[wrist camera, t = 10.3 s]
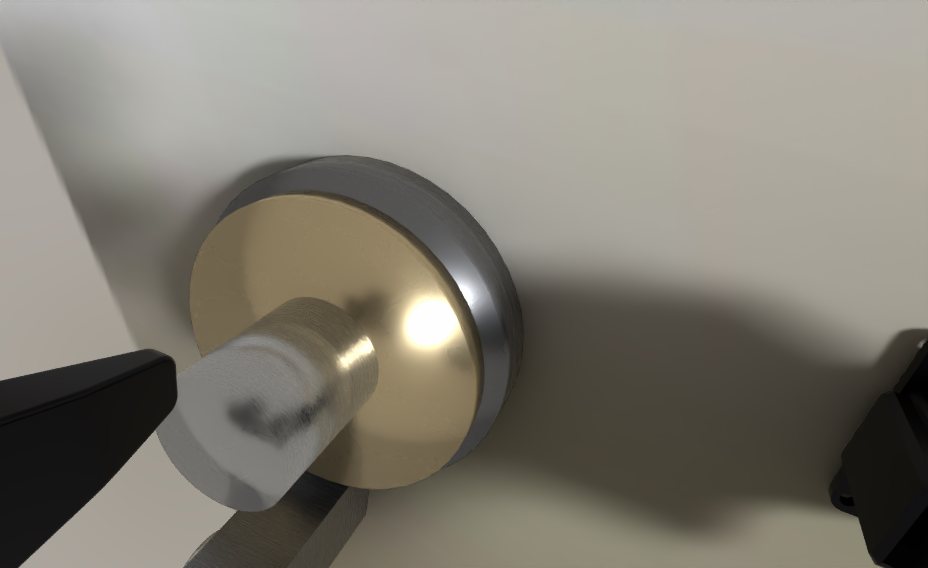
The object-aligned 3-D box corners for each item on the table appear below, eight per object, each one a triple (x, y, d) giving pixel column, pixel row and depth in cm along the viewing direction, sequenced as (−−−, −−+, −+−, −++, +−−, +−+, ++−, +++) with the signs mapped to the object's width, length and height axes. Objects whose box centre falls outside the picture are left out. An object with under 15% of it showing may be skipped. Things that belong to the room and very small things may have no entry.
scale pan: (518, 252, 17) (508, 265, 16) (453, 514, 22) (443, 534, 22) (204, 149, 20) (181, 156, 19) (213, 405, 25) (195, 419, 24)
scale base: (561, 214, 19) (456, 355, 11) (465, 561, 27) (367, 780, 19) (239, 116, 22) (-20, 173, 14) (241, 455, 30) (78, 608, 22)
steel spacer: (385, 323, 19) (289, 415, 14) (371, 427, 21) (283, 535, 16) (269, 279, 20) (146, 353, 15) (266, 382, 22) (158, 473, 17)
